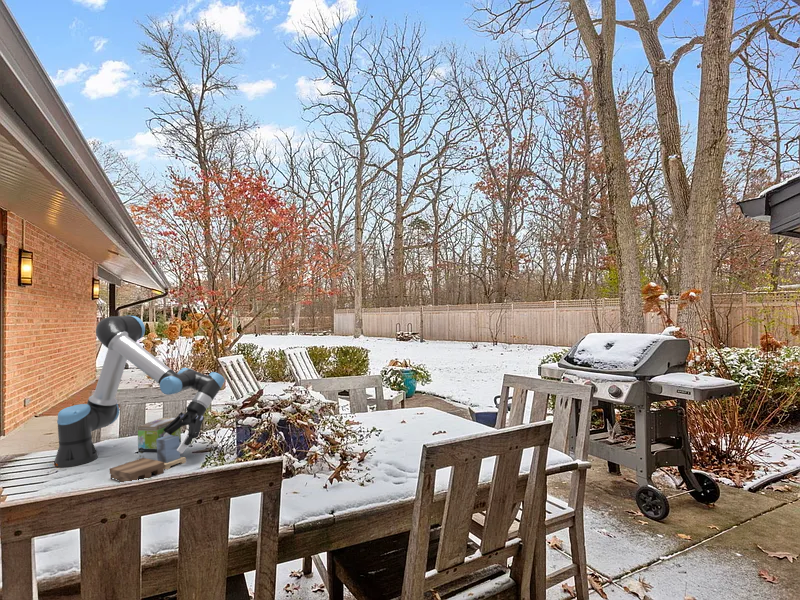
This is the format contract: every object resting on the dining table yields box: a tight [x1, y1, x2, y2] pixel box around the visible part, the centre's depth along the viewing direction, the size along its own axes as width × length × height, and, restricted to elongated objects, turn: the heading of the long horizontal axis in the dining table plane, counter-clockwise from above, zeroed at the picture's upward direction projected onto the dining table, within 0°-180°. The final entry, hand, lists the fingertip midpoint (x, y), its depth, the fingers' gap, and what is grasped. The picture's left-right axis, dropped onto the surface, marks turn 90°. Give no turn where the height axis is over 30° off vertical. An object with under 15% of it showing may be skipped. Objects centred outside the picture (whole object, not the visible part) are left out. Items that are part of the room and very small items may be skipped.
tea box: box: [137, 417, 182, 460], centre depth 203 cm, size 15×10×15 cm
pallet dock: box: [109, 458, 165, 483], centre depth 178 cm, size 14×13×4 cm
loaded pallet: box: [156, 435, 187, 470], centre depth 189 cm, size 9×9×11 cm
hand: (168, 450), depth 189 cm, fingers open, 13 cm apart
